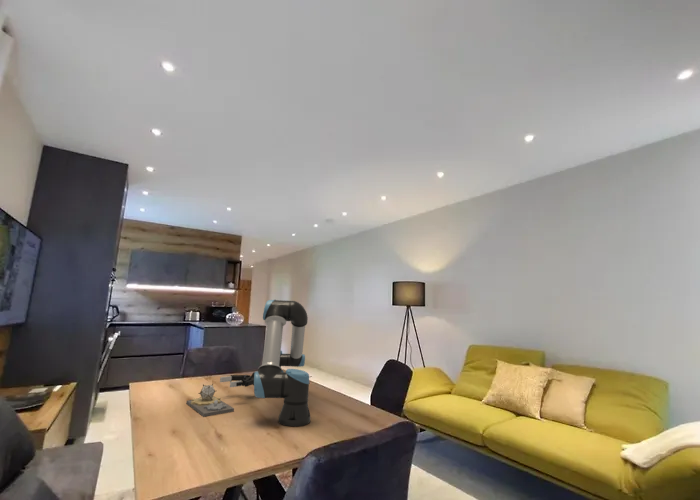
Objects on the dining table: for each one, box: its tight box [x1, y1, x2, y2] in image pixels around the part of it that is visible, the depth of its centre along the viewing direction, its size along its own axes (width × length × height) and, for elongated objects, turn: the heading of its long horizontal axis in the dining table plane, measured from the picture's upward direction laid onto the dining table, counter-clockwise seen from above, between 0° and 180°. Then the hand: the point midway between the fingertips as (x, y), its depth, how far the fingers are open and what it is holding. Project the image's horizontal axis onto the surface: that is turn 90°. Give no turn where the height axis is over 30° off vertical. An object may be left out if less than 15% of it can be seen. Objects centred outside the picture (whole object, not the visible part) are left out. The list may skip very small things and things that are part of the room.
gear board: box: [186, 395, 235, 418], centre depth 173 cm, size 26×15×5 cm, turn 43°
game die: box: [197, 383, 216, 401], centre depth 177 cm, size 9×8×10 cm
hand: (225, 382), depth 185 cm, fingers open, 13 cm apart
